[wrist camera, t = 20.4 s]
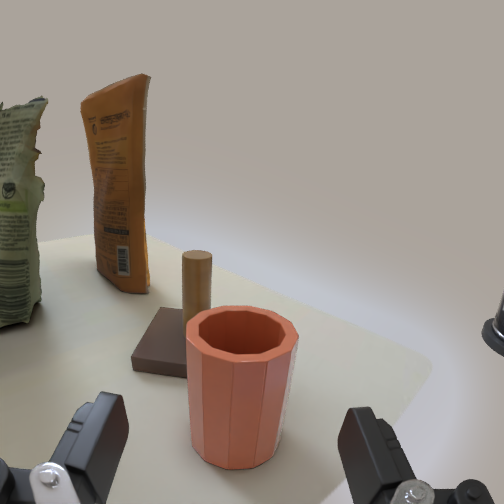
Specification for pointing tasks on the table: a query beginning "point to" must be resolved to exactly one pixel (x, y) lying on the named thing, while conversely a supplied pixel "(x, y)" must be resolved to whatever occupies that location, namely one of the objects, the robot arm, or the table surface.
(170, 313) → the ring stand
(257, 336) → the faceted terracotta cup
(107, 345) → the table surface
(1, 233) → the pouch
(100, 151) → the pancake mix bag
